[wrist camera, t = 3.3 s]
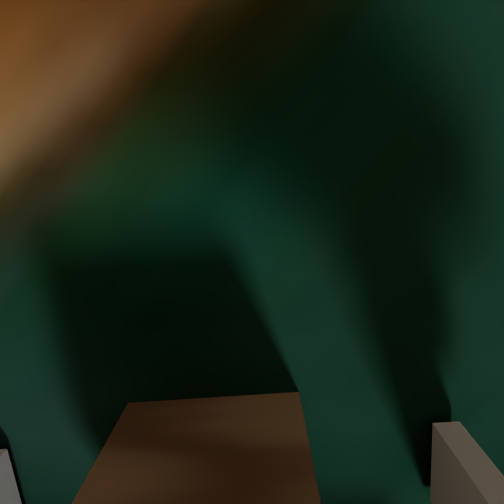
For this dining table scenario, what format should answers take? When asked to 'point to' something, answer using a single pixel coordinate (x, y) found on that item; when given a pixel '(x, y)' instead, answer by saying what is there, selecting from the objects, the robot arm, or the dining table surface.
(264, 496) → the walnut cube
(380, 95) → the dining table surface
